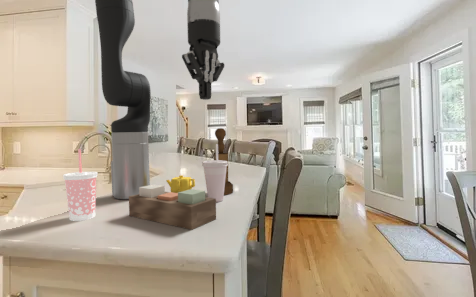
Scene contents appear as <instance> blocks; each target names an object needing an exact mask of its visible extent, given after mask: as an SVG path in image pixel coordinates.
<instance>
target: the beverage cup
mask: <svg viewBox="0 0 476 297" xmlns="http://www.w3.org/2000/svg"><path fill="white" fill-rule="evenodd" d="M77 151H78V154H77V155H78V171H77V172H69V173H64V174H63V175H62V177H63V178H62V179H63V180H64V184H65V192H66V200H67V208H68V210H67V211H68V216H69V220H70V221H72V222H73V221H74V222H80V221H81V222H82V221H87V220H90V219H93V218H95V217H96V207H97V206H96V199H97V198H96V197H97V195H96V194H97V177H98V174H99V173H98V171H83V169H82V168H83V167H82V166H83V165H82V149H81V148H78V150H77Z"/></svg>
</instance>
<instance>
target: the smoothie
mask: <svg viewBox="0 0 476 297" xmlns="http://www.w3.org/2000/svg"><path fill="white" fill-rule="evenodd" d="M215 153H216V160H214V159H213V160H204V161H202V162H201V163H202V165H201V167H203V173H204V179H205V180H204V182H205V187H206V193H207V194H206V195H207V198H214V199H216V203H218V202H219V203H220V202H223V201H224V197H225V195H224V187H225V178H226V167H227V166H228V167H229V160H228V161H223V160H218V143H216V144H215Z"/></svg>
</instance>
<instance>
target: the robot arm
mask: <svg viewBox="0 0 476 297" xmlns="http://www.w3.org/2000/svg"><path fill="white" fill-rule="evenodd" d="M94 1H95V2H94V3H95V9H96V10H95V11H96V19H97V24H98V25H97V26H98V34H99V44H100V60H101V65H100V66H101V68H100V69H101V89H102V95H103V97H104V100H105V101H106V103H107V104H108V105H111V106H115V107H124V108H125V107H126V108H127V112H126V114H125V116H122V117H121V118H119V119H116V120H114V121H112V122H111V124H110V129H111V151H112V152H111V154H112V155H111V156H112V160H111V162H110V169H111V170H110V171H111V195H112V196H113V197H114V199H117V200H118V199H119V200H129V196H133V195H137V194H139V187H143V186H148V185H151V179H150V176H151V175H150V149H149V147H150V146H149V124H150V121H151V100H152V99H151V95H152V94H151V86H150V85H151V84H150V82H149V81H150V80H148V78H147V76H146V75H144V74H142V73H138V72H133V71H128V70H124V68H123V62H122V61H123V60H122V59H123V58H122V56H123V50H124V47H125V45H126V43H127V42H128V40H129V38H130V36H131V35H132V33H133V31H134V29H135V28H134V27H135V25H136V24H135V23H136V21H135V20H136V19H135V18H136V17H135V13H134V11H135V10H134V2H133V0H94ZM186 10H187V12H186V14H187V15H186V16H187V17H186V21H187V43H188V45H189V46H190V47H189V51H188V52H187V53H183V54H182V55H181V60H183V63H184V64H185V66H186V69H187V70H188V72H189V74H190V76H191V78H192V80H196V82H197V83H198V96H199V99H200V100H204V101H207V100H211V99H212V98H211V97H212V84H213V83H214V82H217V81H218V80H219V78H220V76H221V74H222V73H223V71H224V68H225V63H224V62H221V61H220V60H219V53H218V47H219V46H220V45H221V13H220V4H219V0H187V9H186Z"/></svg>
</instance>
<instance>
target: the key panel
mask: <svg viewBox="0 0 476 297" xmlns="http://www.w3.org/2000/svg"><path fill="white" fill-rule="evenodd" d="M170 192H171V191H165V194H166V193H170ZM216 203H217V202H216V199H214V198H208V196H205V201H202V202H199V203H196V204H186V203H180V202H178V199H176V200H172V201H168V200H161V199H158V196H156V197H152V198H149V197H143V196H139V194H137V195H133V196H129V199H128V212H129V217H134V218H137V219H143V220H147V221H152V222H155V223H161V224H165V225H170V226H172V227H173V226H174V227H178V228H183V229H187V230H194V229H197V228H199V227H201V226H204V225H206V224H208V223H210V222H212V221H214V220H217V204H216Z"/></svg>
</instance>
